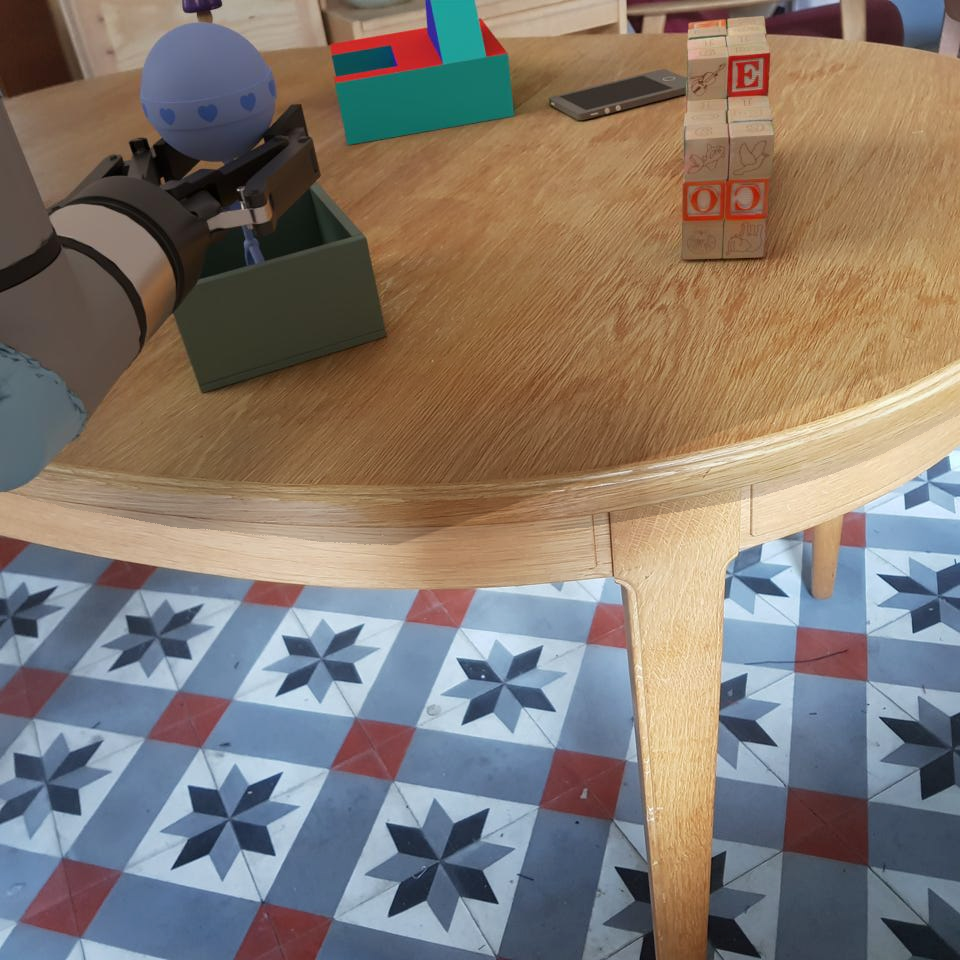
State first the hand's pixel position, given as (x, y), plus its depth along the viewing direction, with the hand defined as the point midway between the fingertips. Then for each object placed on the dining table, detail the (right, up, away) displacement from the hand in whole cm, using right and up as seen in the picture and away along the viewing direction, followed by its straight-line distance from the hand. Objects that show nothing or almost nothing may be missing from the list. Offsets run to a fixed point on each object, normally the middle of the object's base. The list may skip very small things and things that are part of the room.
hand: (249, 128), depth 68 cm
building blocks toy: (+9, +21, +48) cm, 53 cm away
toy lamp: (-15, +20, +52) cm, 58 cm away
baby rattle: (+1, -11, +2) cm, 11 cm away
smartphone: (+33, +17, +38) cm, 53 cm away
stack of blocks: (+37, -2, +12) cm, 39 cm away
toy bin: (+1, -13, +4) cm, 14 cm away
